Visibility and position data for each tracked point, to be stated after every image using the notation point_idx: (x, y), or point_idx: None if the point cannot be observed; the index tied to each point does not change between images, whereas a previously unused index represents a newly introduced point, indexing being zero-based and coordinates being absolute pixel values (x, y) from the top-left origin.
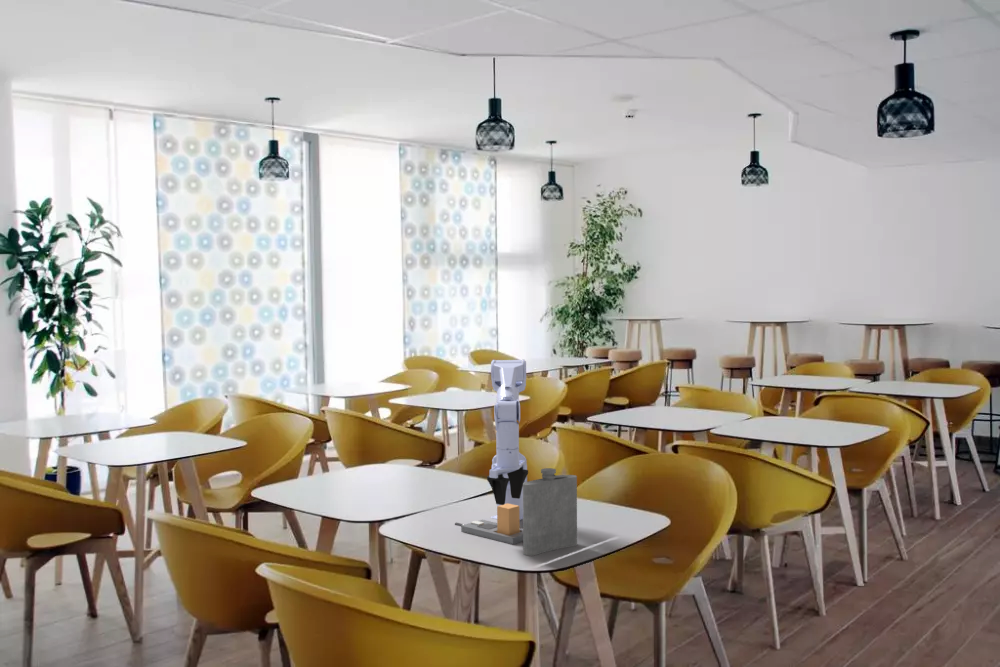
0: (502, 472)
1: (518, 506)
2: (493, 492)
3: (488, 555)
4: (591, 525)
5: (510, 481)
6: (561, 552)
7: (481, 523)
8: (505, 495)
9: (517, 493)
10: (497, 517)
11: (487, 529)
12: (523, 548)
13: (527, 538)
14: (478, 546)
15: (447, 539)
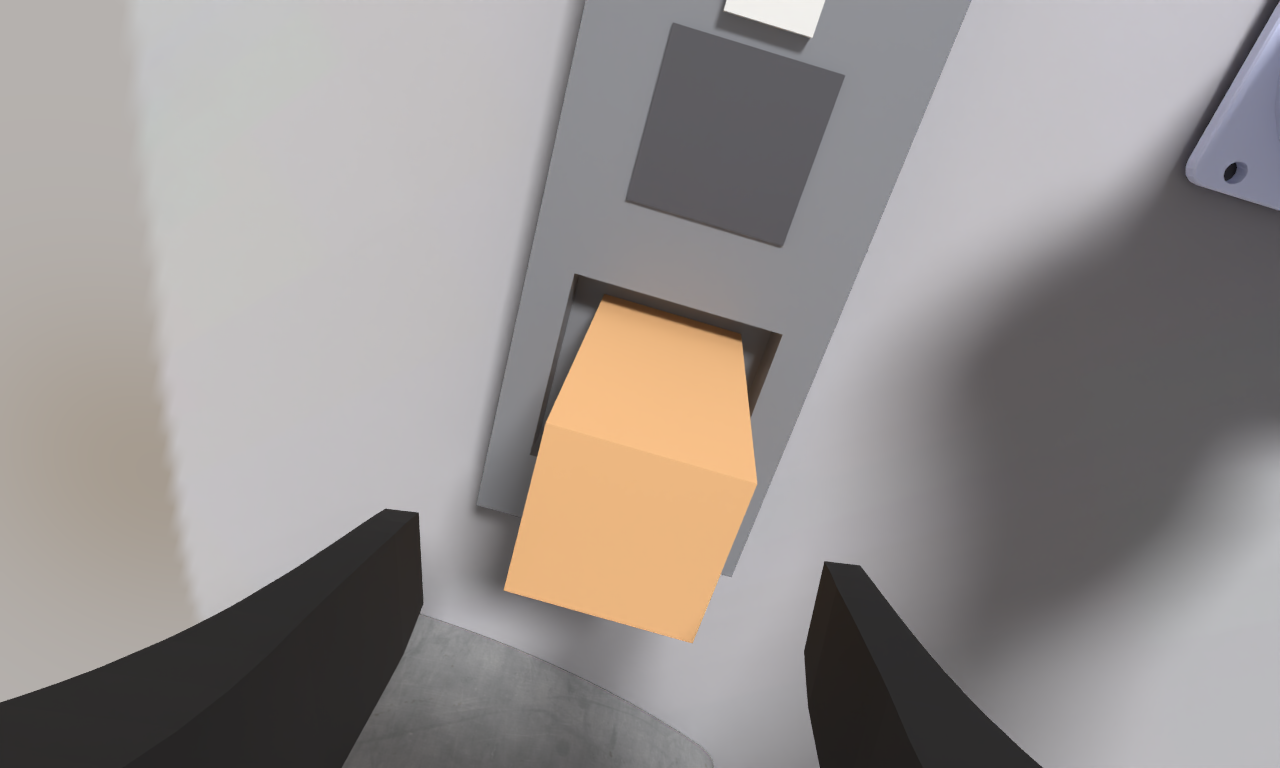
0: None
1: (676, 634)
2: (246, 602)
3: (211, 405)
4: (1246, 762)
5: (904, 753)
6: None
7: (769, 22)
8: (358, 726)
9: (817, 696)
10: (572, 366)
11: (621, 184)
12: None
13: None
14: (347, 232)
15: None
